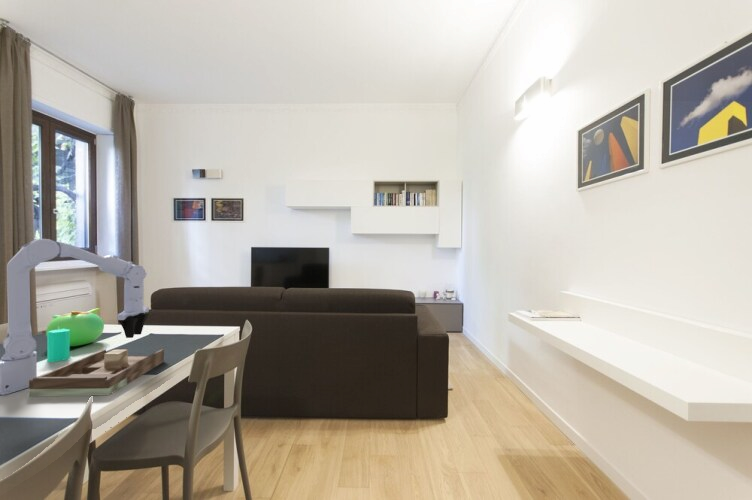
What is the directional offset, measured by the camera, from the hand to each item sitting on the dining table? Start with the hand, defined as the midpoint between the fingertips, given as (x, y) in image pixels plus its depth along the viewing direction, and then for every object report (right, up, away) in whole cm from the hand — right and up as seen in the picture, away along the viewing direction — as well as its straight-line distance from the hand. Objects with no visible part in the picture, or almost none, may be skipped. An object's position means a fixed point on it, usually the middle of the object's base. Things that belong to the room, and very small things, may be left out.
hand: (133, 335), depth 124 cm
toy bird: (-37, -9, +19) cm, 43 cm away
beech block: (0, -8, -9) cm, 12 cm away
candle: (-29, -9, +2) cm, 30 cm away
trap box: (+1, -10, -14) cm, 17 cm away
